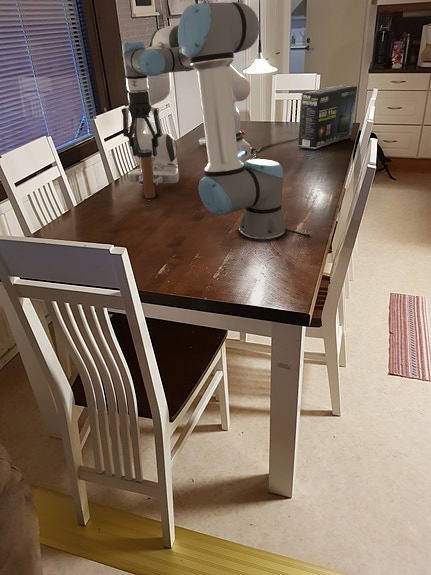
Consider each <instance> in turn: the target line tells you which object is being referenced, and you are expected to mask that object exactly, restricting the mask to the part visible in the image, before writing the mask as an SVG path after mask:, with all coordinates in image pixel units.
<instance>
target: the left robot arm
mask: <svg viewBox="0 0 431 575" xmlns="http://www.w3.org/2000/svg"><path fill="white" fill-rule="evenodd" d="M178 27H179V24H177V25H168V26H166V27H161V28H158V29H156V30H155V31H153V33H152V34H151V36H150V39H149V45H148V46H147V48H145V49H146V50H150V49H162V48H174V47H179V42H178ZM229 71H230V81H231V91H232V101H233V111H234V121H235V132H236V142H237V152H238V159H239V160H240V161H241V162H242V163H243V164H245V161H246V160H245V159H246V158H248V157H249V156H251V155H253V154H254V151H255V150H257V151H255V153H257V154H258V153H260V151H261V150H262V149H263V148H264V147H262V146H260V147H259V148H258V149H256V148H254V147H252V146H251V145H250V143H248V142H247V141H246V140H245V139H244V137H243V136H246V135H247V132H246V130H241V113H240V111H239V109H238V108H237V105H236V103H237V102H242V101H245V100H247V98H248V97H249V95H250V94H251V84H250V81H249V80H248V78H246V77H245V76H243V75H242V74H241V73H240V72H238V71H237V70H236V69H235V67H233V65H232V64H231V65H230V67H229ZM147 78H148V88H149V89H148V90H147V91H148V92H149V98H150V105H151V107H153V106H154V105H157V104H159V103H161V102H163V101H164V100H166V99H167V97H168V96H169V95H170V93H171V91H172V77H171V73H164V74H160V75H158V76H148V75H147ZM162 133H163V132H162ZM133 137H135V138H136V147H137V155H136V156H135V157H137V158H139V159H140V157H139V155H138V151H139V150H142V149H150V150H152V158H155V160H154V161H152V165H153V174H154V180H153V182H154V183H153V184H155V185H159V184H177V183H178V182H179V180H180V172H179V166H178V160H177V155H178V145H177V141H176V139H175V138H174V137H173V136H172V135H171V134H170V133H166V132H165V133H163V135H162V136H161V137H158V143H159V145H158V147H156V148H157V155H156V156H155V157H153V149H152V138H153V136H152V134H151V133H147V132H146V121H145V120H144V119H142V118H139V119H137V122H136V126H135V130H134V136H133ZM131 150H132V149H131ZM132 152H133V150H132ZM252 159H257V156H255V157H253V158H252ZM243 161H244V162H243ZM128 181H129V182H130V183H138V184H139V185H143V179H142V171H141V168H134V169H132V170H131V171H129V172H128Z"/></svg>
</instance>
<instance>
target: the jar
mask: <svg viewBox="0 0 431 575" xmlns="http://www.w3.org/2000/svg"><path fill="white" fill-rule="evenodd" d="M139 162H140V169H141V171H142V179H143V184H142V187H143V194H144V198H145V199H154V198H155V197H156V196H157V195H156V184H153V183H154V182H153V180H154V174H153V165H152V162H153V157H152V156H150V157H140V158H139Z"/></svg>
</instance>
